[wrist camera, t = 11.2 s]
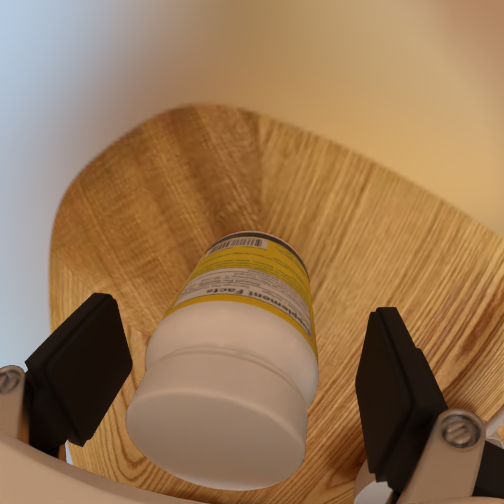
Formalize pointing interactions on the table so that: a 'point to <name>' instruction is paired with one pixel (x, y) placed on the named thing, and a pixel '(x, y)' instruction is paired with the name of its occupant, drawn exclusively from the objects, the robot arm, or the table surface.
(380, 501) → the small pan
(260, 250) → the supplement bottle
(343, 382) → the table surface
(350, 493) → the table surface
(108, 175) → the table surface
